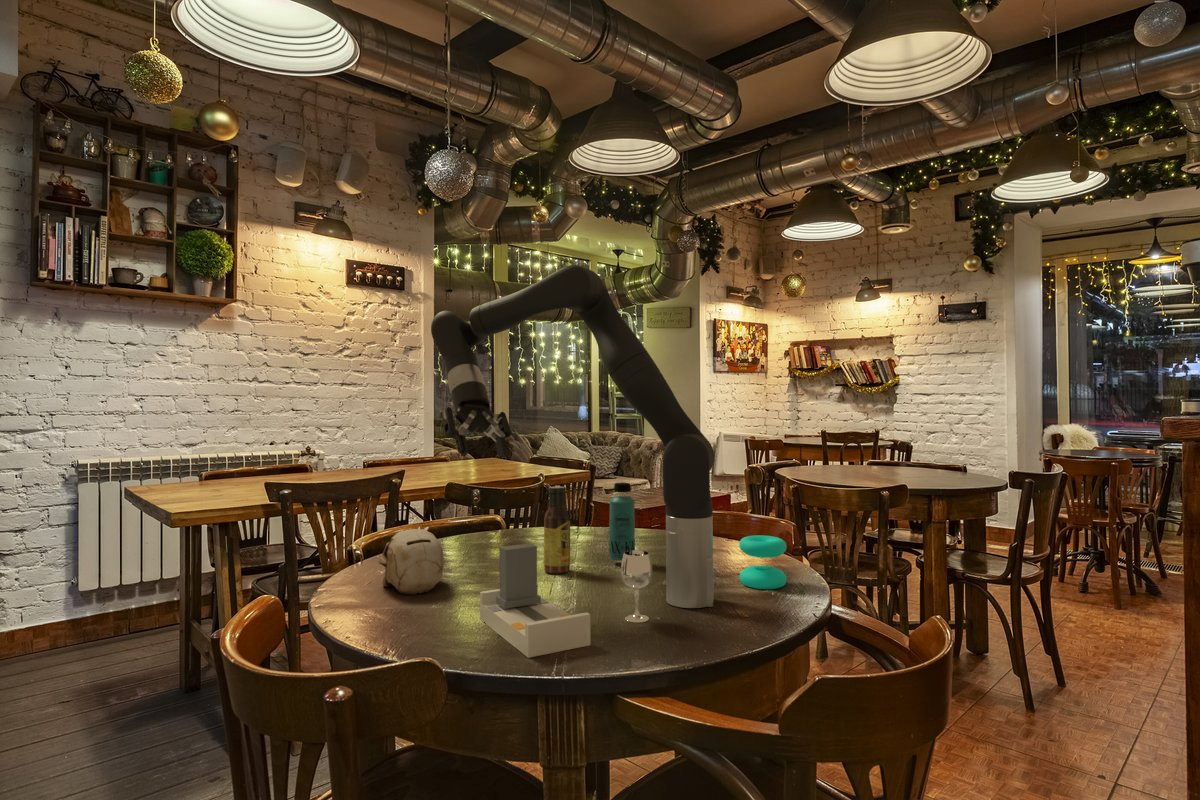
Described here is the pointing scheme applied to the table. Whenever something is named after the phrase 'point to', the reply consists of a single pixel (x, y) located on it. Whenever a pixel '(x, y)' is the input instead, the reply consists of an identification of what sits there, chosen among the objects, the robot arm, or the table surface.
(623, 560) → the wineglass
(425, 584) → the coin bank
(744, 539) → the donuts
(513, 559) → the switch tab
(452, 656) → the table surface
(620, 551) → the beverage bottle
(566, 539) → the sauce bottle
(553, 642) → the tray
